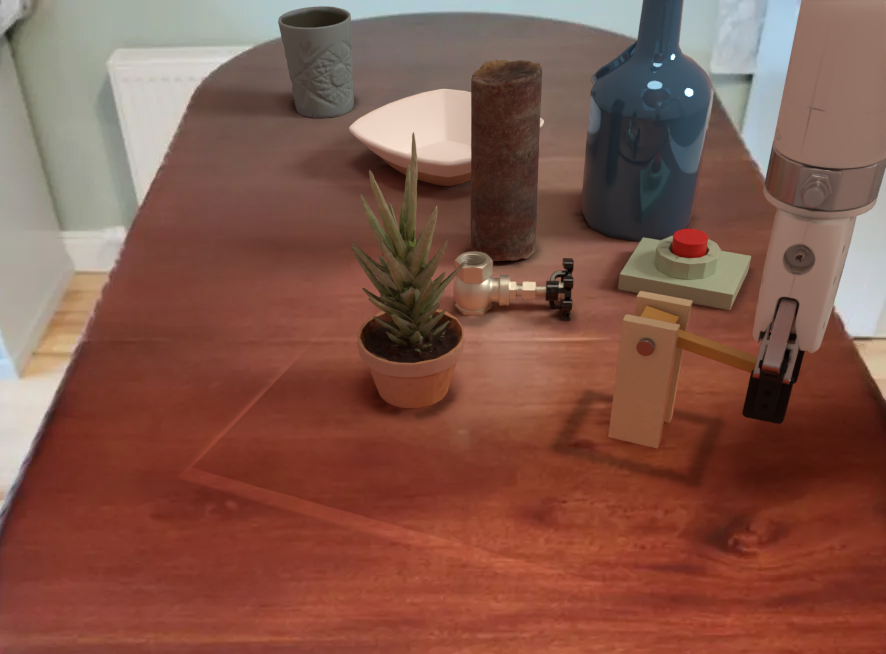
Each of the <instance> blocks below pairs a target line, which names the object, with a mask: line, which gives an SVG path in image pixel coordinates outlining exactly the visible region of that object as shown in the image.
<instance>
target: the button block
mask: <svg viewBox="0 0 886 654" xmlns="http://www.w3.org/2000/svg"><path fill="white" fill-rule="evenodd" d="M672 241H673V235H672V236H670V237H668V238H665V239H657V240H656V239H650V238H644V237H643V238H642V240H641V241H639V243H638V244H637V246H636V247H635V249H634V250H633V252H632V254H631V255H630V257H629V258H628V260H627V262H626V263H625V265H624V267H623V268H622V270H621V271H620V273H619V275H618V276H619V277H618V283H617V284H618V285H617V290H619V291H624V292H630V293H635V294H638V293H639V292H640V291H644V292H650V293H655V294H660V295H666V296H671V297H676V298H682V299H687V300H692V301H693V302H692V304H694V305H700V306H705V307H710V308H715V309H721V310H724V311H725V310H726V311H731V309H732V308H733V305H734V303H735V301H736V298H737V296H738V294H739V292H740V289H741V287H742V285H743V284H744V281H745V280H746V277H747V275H748V273H749V269H750V265H751V260H752V256H751V255H749V254H744V253H737V252H732V251H725V250H722V249H721V248H720V246H719V245H718V243H717V242H715V241H713V240H711V239H710V238H708V243H707V249H706V254H705V256H703V257H700V258H683V257H678V256H676V255H674V254H673V253H671V247H672Z"/></svg>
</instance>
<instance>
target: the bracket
mask: <svg viewBox="0 0 886 654" xmlns="http://www.w3.org/2000/svg"><path fill="white" fill-rule="evenodd" d="M635 298H636V299H635V306H634V312H633V313H634V314H628V313H626V314H625V315H624V317H623V318H622V321H621V329H620V338H619V345H618V346H619V347H618V354H617V361H616V362H617V363H616V370H615V376H614V377H615V378H614V387H613V395H612V402H611V410H610V419H609V428H608V438H611V439H615V440H620V441H624V442H628V443H631V444H637V445H640V446H645V447H649V448H653V449H658V448H659V447H660V444H661V441H662V435H663V429H664V423H667V424H670V423H671V422H672V419H673V416H674V410H675V404H676V400H677V399H676V397H677V391H678V388H679V382H680V376H681V369H682V365H683V359H684V353H685V350H684V349H681V348H678V347H677V341H678V335H679V329H680V330H683V331H686V332H688V330H689V324H690V319H691V312H692V308H693V307H692V306H693V303H692V302H693V301H692V300H687V299H682V298H676V297H671V296H666V295H660V294H655V293H650V292H644V291H640V292H639V293H637V295H636V296H635ZM646 306H649V307H652V308H655V309H658V310H661V311H664V312H667V313H670V314H672V315H675V316H678V317H679V318H678V321H677V324H674V323H669V322H664V321H659V320H654V319H649V318H644V317H640V316H641V314H642V313H643V311H644V309H645V307H646Z"/></svg>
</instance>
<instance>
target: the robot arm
mask: <svg viewBox="0 0 886 654" xmlns="http://www.w3.org/2000/svg"><path fill="white" fill-rule="evenodd" d="M790 50H791V51H790V55H789V60H788V65H787V70H786V74H785V75H786V76H785V80H784V86H783V90H782V95H781V100H780V105H779V111H778V116H777V120H776V124H775V125H776V126H775V127H776V128H775V130H774V136H773V141H772V143H771V149H770V155H769V160H768V163H767V164H768V165H767V169H766V174H765V175H766V176H765V179H764V183H763V188H762V195H763V196H764V199H765V200H766V201H767V202H768V203H769V204H771V205H772V206H774V207H775V208H776V209H775V213H774V218H773V224H772V228H771V231H770V236H769V242H768V246H767V247H768V248H767V250H766V251H767V252H766V256H765V261H764V265H763V272H762V276H761V282H760V285H759V291H758V298H757V303H756V307H755V308H756V309H755V314H754V321H753V327H752V339H753V341H754V342H755V343H756V344H760V345H759V348H758V352H757V355H756V356H757V360H756V364H755V368H754V370H752V372H751V373H750V376H749V379H748V380H749V381H748V384H747V389H746V393H745V399H744V403H743V408H742V411H741V414H742V416H743V417H744V418H747V419H752V420H757V421H763V422H766V423H771V424H776V425H781V424H783V423H784V421H785V417H786V415H787V414H786V413H787V409H788V406H789V403H790V398H791V394H792V391H793V386H794V384H796V383H797V381H798V379H799V376H800V372H801V368H802V365H803V364H802V363H803V361H804V356H805V352H808V354H813V353H816V352H817V351H818V350H819V349H820V348H821V345H822V342H823V339H824V336H825V333H826V330H827V328H828V324H829V321H830V318H831V314H832V313H833V312H832V311H833V308H834V305H835V301H836V297H837V294H838V290H839V287H840V283H841V279H842V275H843V272H844V269H845V265H846V261H847V258H848V254H849V251H850V250H849V249H850V247H851V244H852V240H853V239H852V238H853V234H854V230H855V227H856V222H857V217H858V216H861V215H863V214H866V213H867V212H869V211H870V210H872V209H873V208H874V207H875V205H876V204H877V200H878V197H879V193H880V190H881V187H882V183H883V179H884V176H885V172H886V0H801V1H800V5H799V10H798V15H797V20H796V25H795V30H794V35H793V40H792V45H791V49H790ZM785 350H787V351H788V353H789V358H788V362H786V361H787V360H783V358H784V353H785ZM786 364H787V365H786Z"/></svg>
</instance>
